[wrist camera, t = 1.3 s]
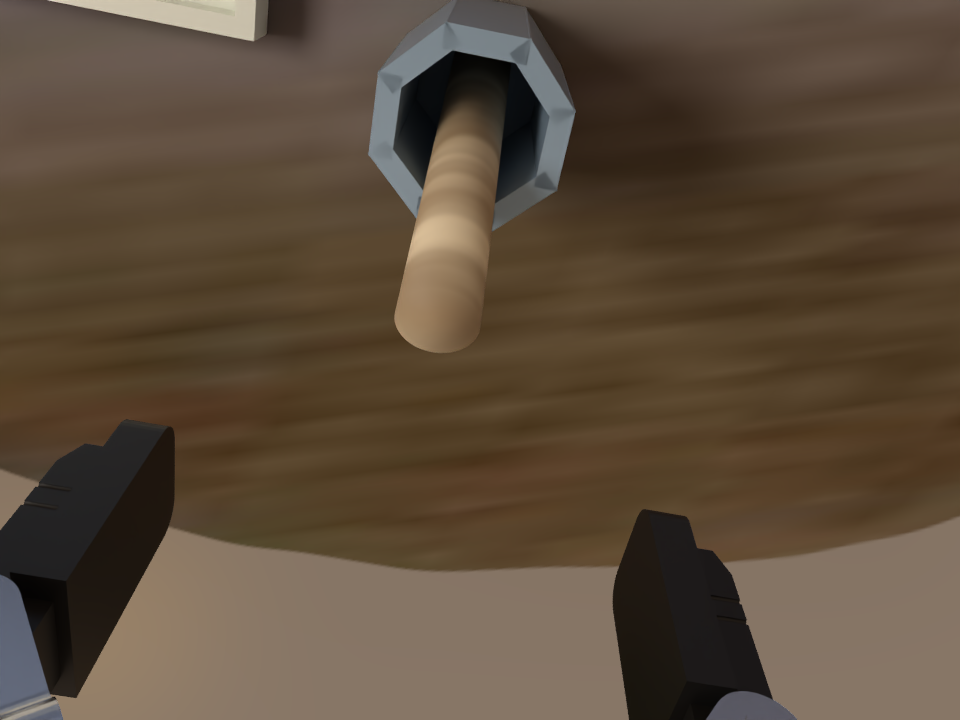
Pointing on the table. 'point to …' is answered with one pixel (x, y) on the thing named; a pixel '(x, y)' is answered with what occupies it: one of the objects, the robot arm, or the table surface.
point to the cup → (421, 90)
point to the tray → (192, 14)
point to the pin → (456, 211)
